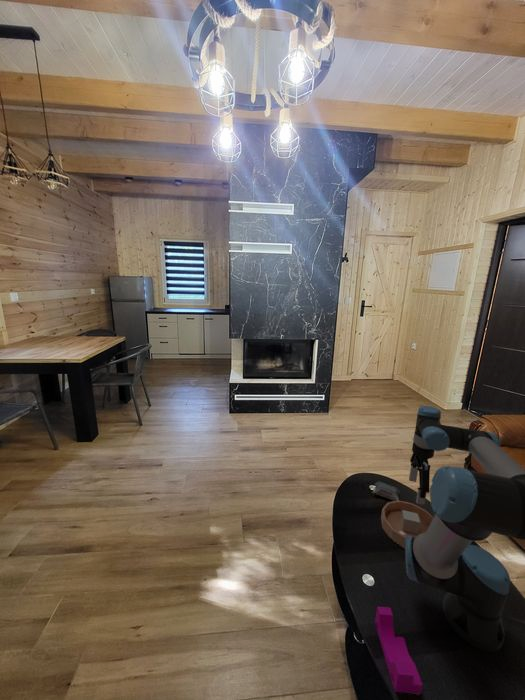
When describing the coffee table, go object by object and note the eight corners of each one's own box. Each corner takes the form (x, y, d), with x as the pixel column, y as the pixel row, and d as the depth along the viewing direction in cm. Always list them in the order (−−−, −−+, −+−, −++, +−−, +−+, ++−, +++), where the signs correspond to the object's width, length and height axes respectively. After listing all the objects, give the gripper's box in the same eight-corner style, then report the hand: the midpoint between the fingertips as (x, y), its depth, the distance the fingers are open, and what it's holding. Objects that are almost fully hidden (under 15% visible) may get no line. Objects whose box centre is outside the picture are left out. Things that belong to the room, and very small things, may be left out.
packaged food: (397, 506, 132) (399, 496, 131) (371, 495, 137) (373, 486, 136) (399, 495, 139) (401, 486, 138) (374, 486, 145) (375, 477, 144)
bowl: (446, 560, 106) (448, 549, 105) (384, 544, 112) (386, 534, 111) (430, 517, 126) (432, 507, 125) (379, 505, 132) (380, 496, 131)
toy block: (420, 698, 70) (424, 676, 68) (394, 695, 70) (398, 674, 69) (395, 627, 85) (398, 608, 83) (374, 625, 85) (377, 606, 83)
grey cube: (418, 534, 116) (420, 522, 114) (402, 530, 117) (404, 518, 116) (415, 525, 120) (417, 513, 119) (400, 521, 122) (402, 509, 121)
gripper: (445, 465, 98) (435, 516, 102) (426, 431, 121) (418, 474, 126) (421, 460, 100) (412, 511, 104) (407, 428, 123) (400, 471, 128)
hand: (416, 491), depth 115 cm, fingers open, 13 cm apart
